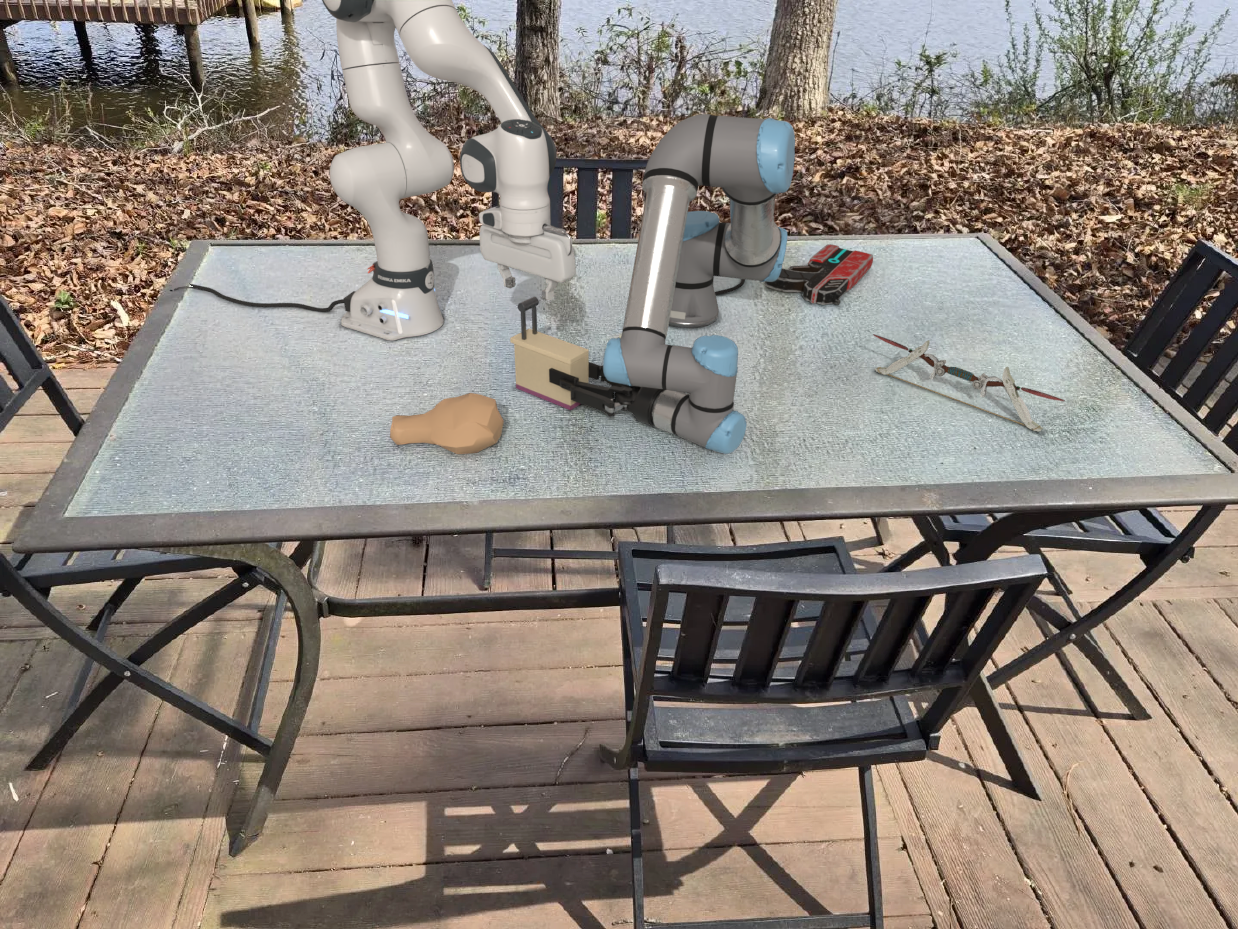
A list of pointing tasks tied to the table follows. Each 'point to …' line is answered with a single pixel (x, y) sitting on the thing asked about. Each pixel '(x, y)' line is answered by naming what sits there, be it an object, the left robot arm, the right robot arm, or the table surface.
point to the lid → (544, 338)
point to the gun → (825, 275)
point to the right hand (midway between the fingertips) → (561, 368)
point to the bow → (978, 382)
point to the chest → (547, 375)
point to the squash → (452, 425)
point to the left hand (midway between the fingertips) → (528, 292)
